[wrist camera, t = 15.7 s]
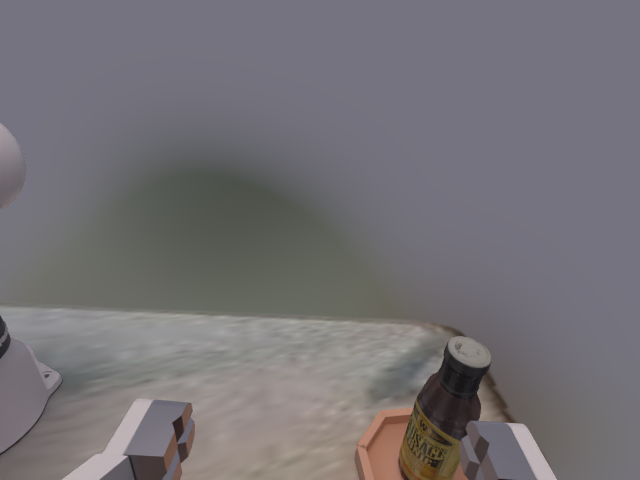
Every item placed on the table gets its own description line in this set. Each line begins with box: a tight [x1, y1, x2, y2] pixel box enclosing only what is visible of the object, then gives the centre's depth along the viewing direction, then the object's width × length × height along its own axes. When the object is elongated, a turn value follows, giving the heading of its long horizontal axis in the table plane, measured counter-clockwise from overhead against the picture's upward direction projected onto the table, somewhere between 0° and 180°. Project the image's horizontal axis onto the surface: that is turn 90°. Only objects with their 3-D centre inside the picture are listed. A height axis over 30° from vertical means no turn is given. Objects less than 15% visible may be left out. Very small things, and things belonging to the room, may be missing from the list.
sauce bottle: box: [398, 336, 491, 480], centre depth 37 cm, size 7×6×20 cm
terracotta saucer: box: [355, 408, 469, 480], centre depth 41 cm, size 15×15×2 cm
